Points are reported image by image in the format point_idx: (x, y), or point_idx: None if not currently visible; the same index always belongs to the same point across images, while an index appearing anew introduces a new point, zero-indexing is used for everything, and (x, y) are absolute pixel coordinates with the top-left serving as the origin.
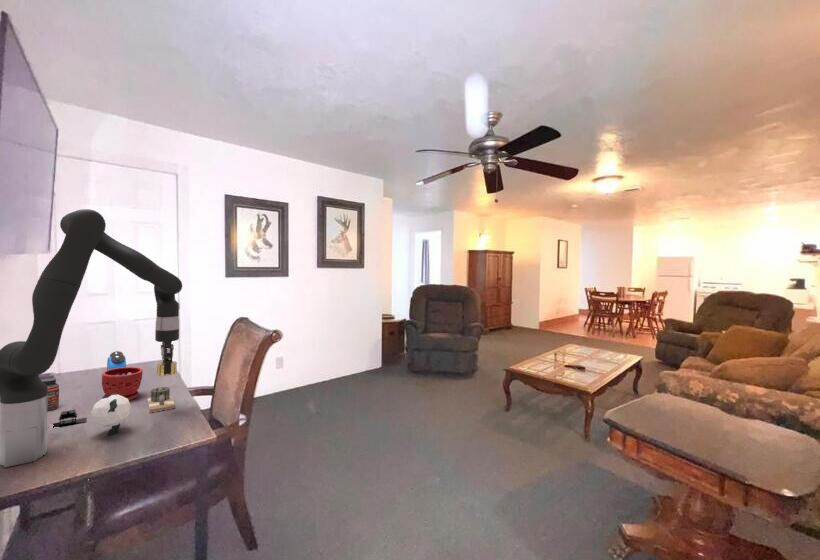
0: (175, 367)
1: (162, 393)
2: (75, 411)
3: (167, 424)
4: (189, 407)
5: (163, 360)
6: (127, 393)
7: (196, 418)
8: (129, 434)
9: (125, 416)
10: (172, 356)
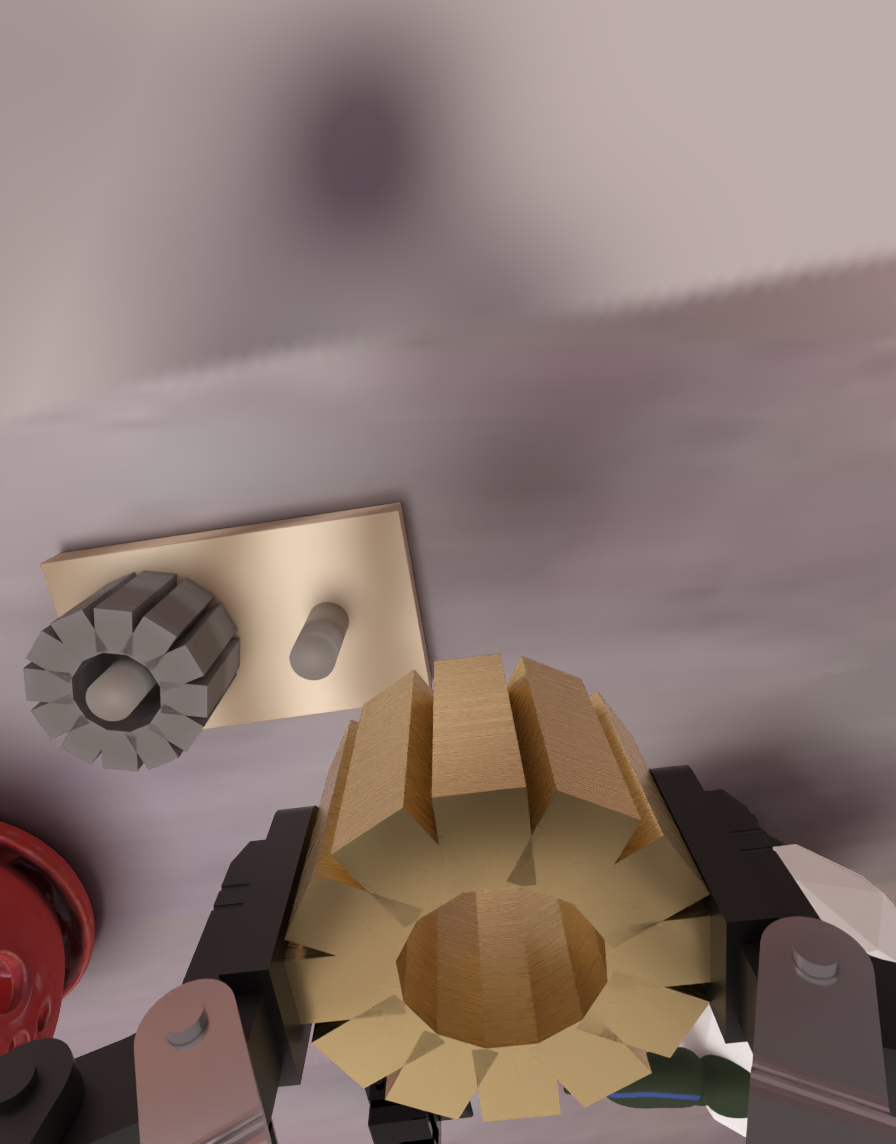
0: (588, 743)
1: (207, 657)
2: (382, 1111)
3: (770, 535)
4: (415, 372)
5: (300, 1076)
6: (37, 910)
7: (765, 301)
8: (815, 751)
9: (840, 867)
10: (892, 1123)
